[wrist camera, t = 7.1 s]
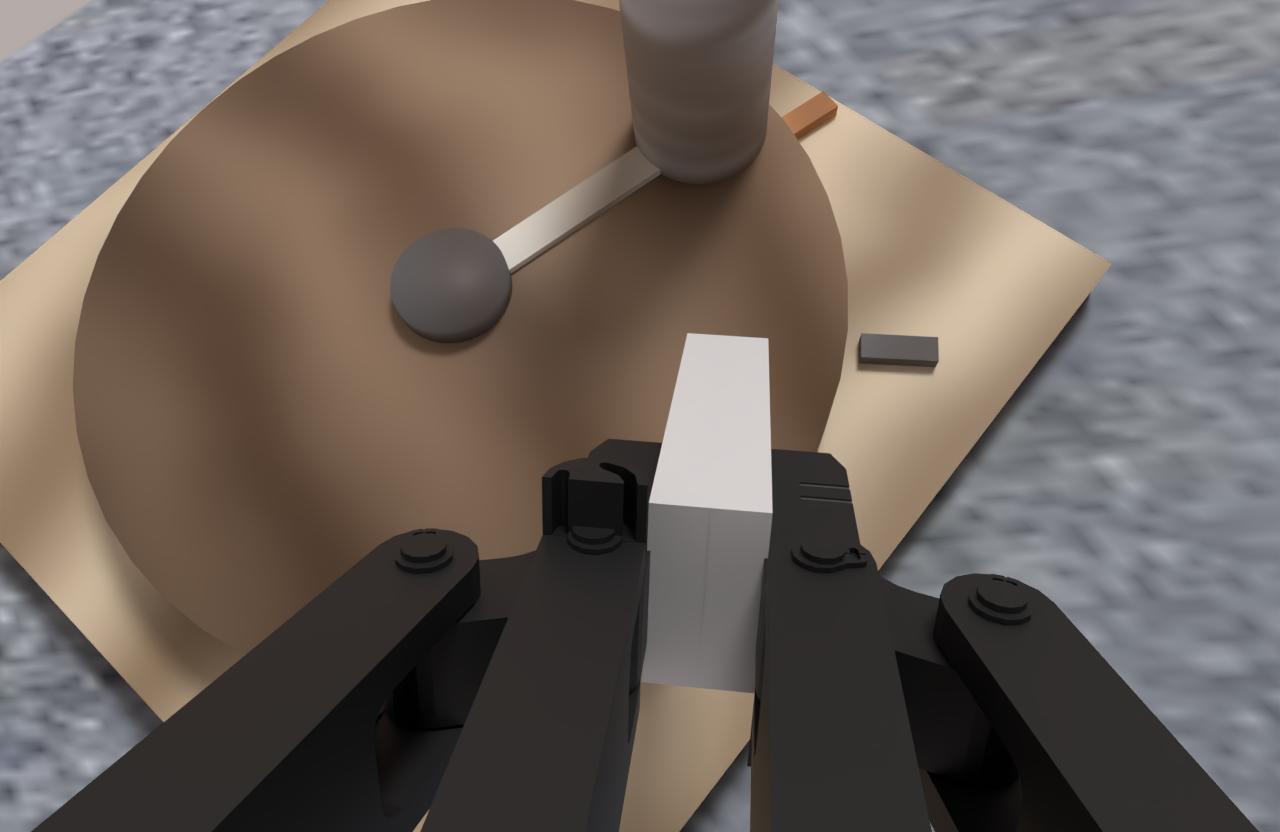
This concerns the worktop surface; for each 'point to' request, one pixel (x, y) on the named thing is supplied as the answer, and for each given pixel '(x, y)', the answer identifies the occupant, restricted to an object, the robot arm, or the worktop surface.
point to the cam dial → (440, 286)
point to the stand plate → (854, 435)
